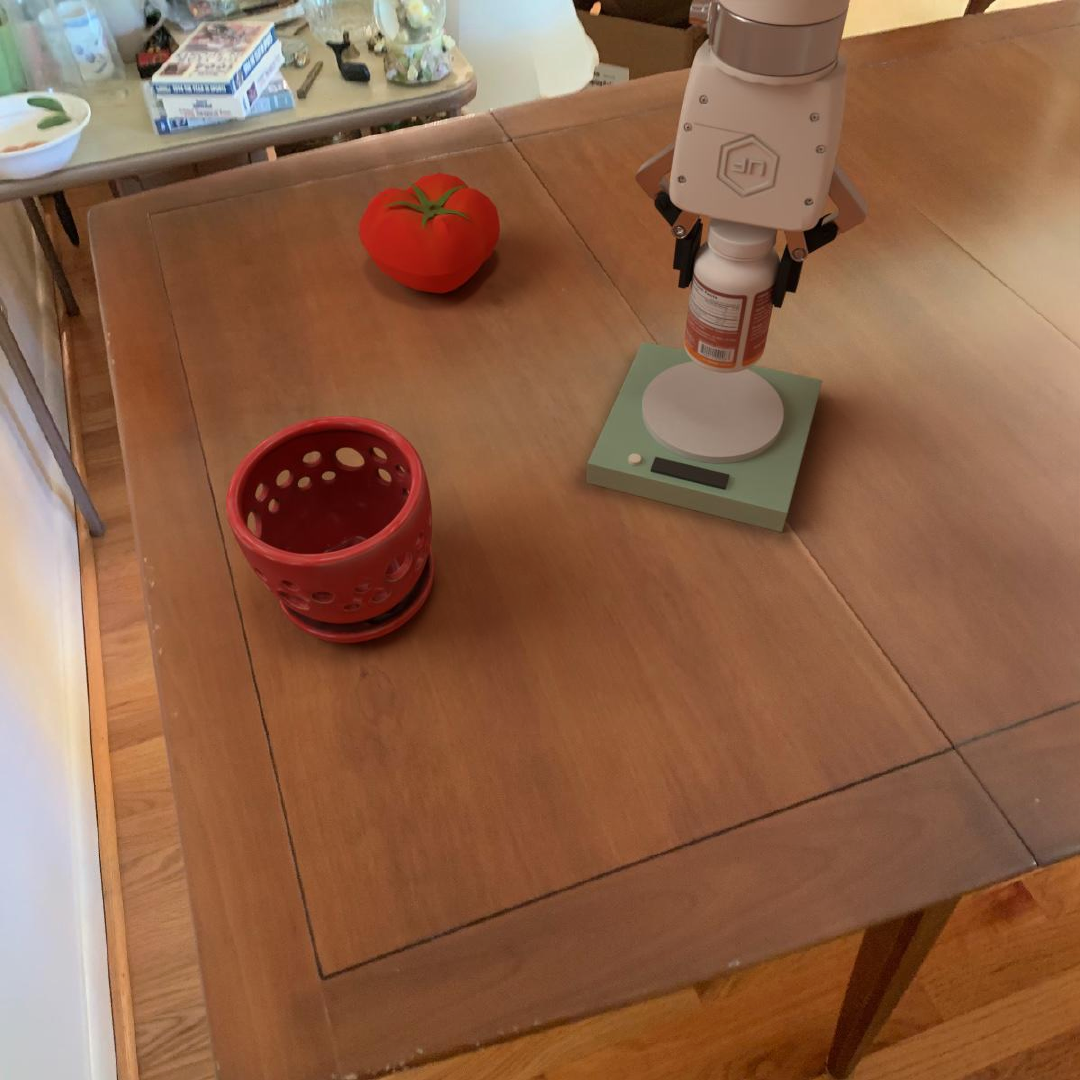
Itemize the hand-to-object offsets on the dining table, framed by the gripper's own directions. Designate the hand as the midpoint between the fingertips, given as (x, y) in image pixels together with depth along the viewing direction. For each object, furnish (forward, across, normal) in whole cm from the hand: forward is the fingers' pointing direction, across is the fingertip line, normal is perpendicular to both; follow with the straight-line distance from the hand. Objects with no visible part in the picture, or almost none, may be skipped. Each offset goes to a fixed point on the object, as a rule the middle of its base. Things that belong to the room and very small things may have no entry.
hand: (733, 285), depth 71 cm
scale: (+15, 0, -1) cm, 15 cm away
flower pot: (+15, -21, -25) cm, 36 cm away
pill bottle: (+6, 0, 0) cm, 6 cm away
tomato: (+15, -31, +13) cm, 37 cm away
